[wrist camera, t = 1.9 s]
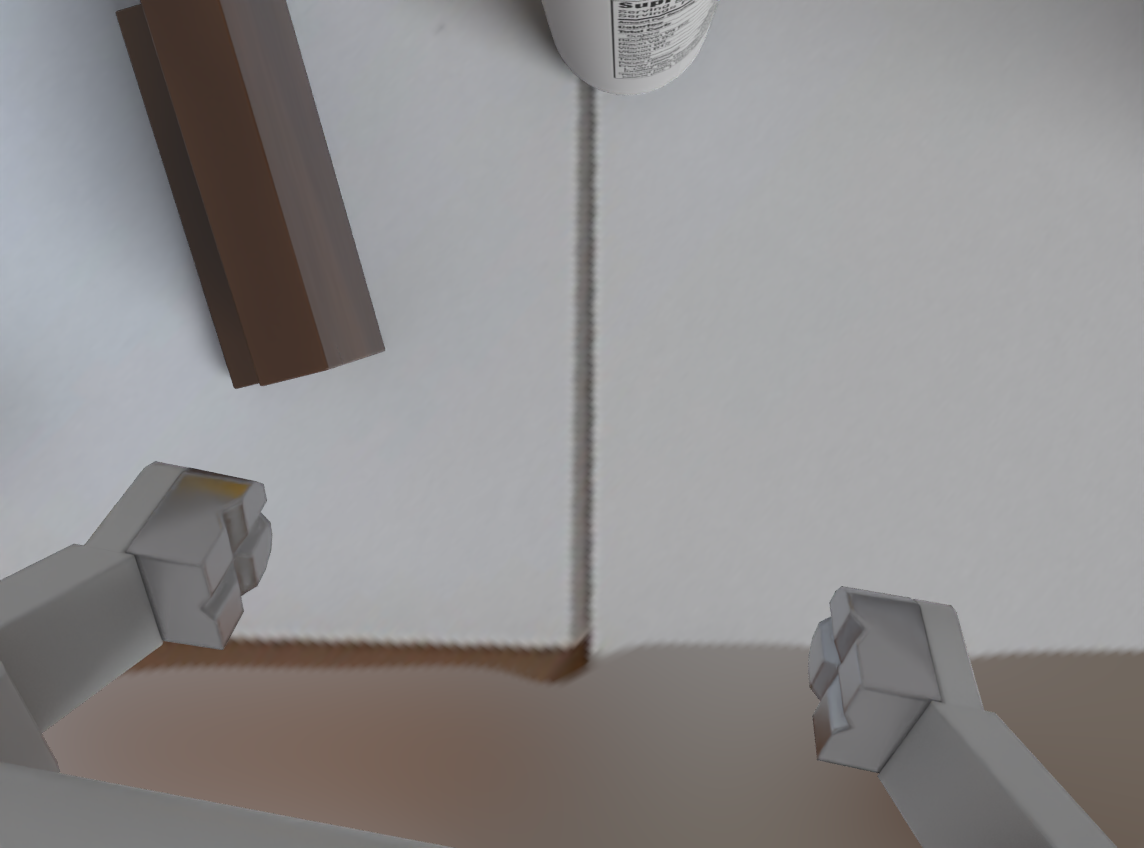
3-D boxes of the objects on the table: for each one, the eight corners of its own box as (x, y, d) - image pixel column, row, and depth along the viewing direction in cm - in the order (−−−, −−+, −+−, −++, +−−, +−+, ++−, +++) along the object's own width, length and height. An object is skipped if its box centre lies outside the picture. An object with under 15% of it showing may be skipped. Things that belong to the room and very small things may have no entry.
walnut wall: (279, -25, 33) (188, -103, 26) (386, 350, 35) (328, 369, 28) (131, 20, 34) (5, -45, 27) (246, 385, 36) (157, 412, 29)
